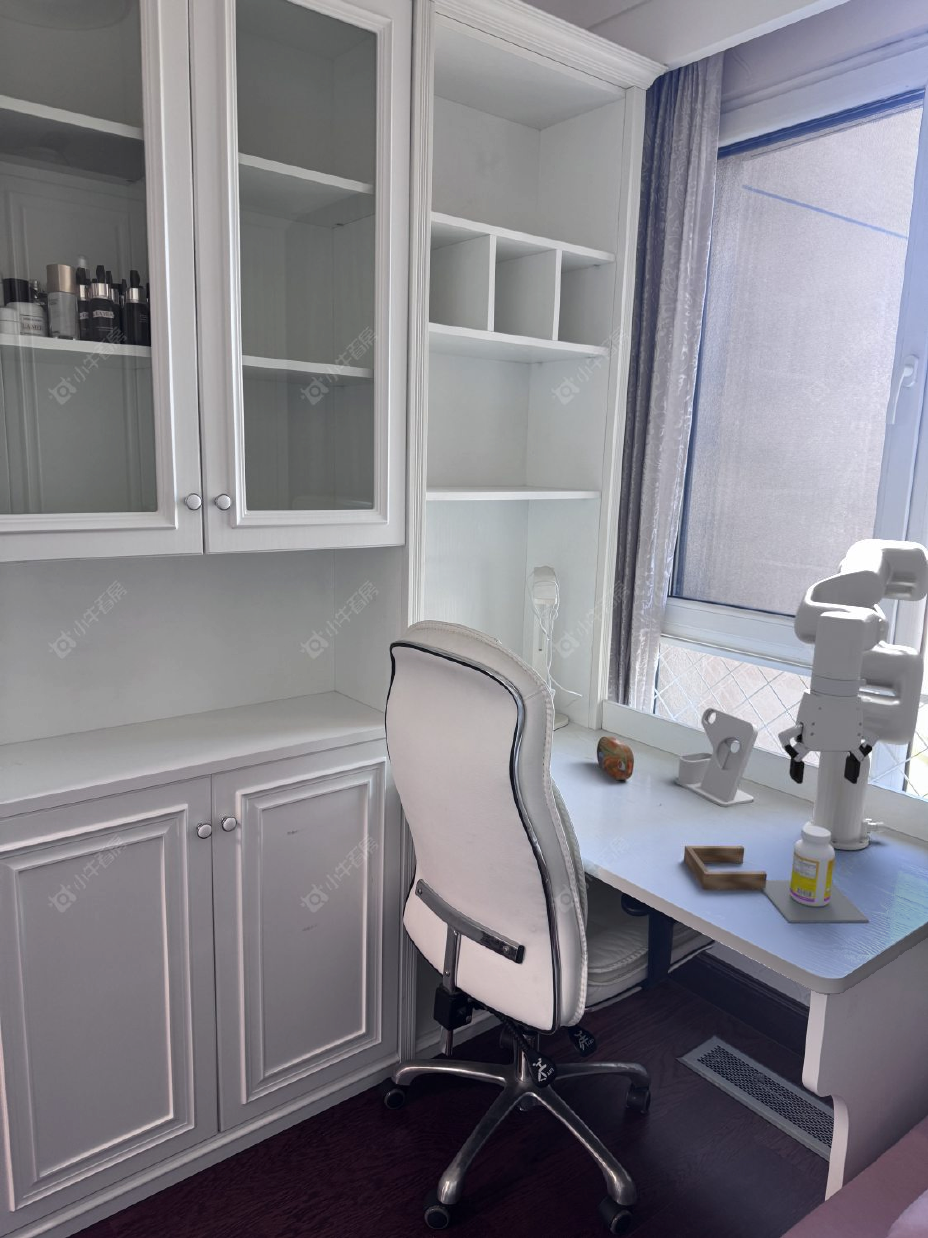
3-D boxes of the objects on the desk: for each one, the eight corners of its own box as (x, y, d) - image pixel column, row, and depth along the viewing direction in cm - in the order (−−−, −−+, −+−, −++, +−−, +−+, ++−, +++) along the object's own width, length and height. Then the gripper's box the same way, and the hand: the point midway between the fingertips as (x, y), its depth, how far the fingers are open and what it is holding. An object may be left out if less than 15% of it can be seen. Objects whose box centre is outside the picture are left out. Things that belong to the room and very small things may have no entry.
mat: (828, 882, 160) (829, 880, 159) (868, 922, 146) (869, 920, 146) (755, 882, 158) (755, 880, 158) (788, 922, 145) (789, 920, 145)
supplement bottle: (819, 889, 156) (827, 823, 153) (836, 908, 149) (844, 839, 147) (782, 889, 155) (790, 822, 153) (798, 908, 149) (806, 838, 146)
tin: (594, 763, 218) (596, 732, 216) (606, 763, 219) (608, 731, 217) (622, 785, 204) (625, 751, 202) (634, 784, 205) (637, 750, 203)
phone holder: (672, 781, 208) (678, 709, 205) (704, 775, 212) (710, 705, 209) (723, 807, 193) (730, 730, 189) (756, 801, 197) (764, 726, 194)
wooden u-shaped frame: (740, 860, 167) (742, 846, 166) (765, 889, 156) (766, 874, 155) (683, 860, 166) (684, 846, 166) (703, 889, 155) (705, 874, 154)
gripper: (871, 680, 150) (859, 773, 153) (775, 679, 148) (765, 773, 152) (895, 692, 142) (883, 789, 146) (795, 691, 141) (784, 789, 144)
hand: (823, 781), depth 149 cm, fingers open, 9 cm apart
